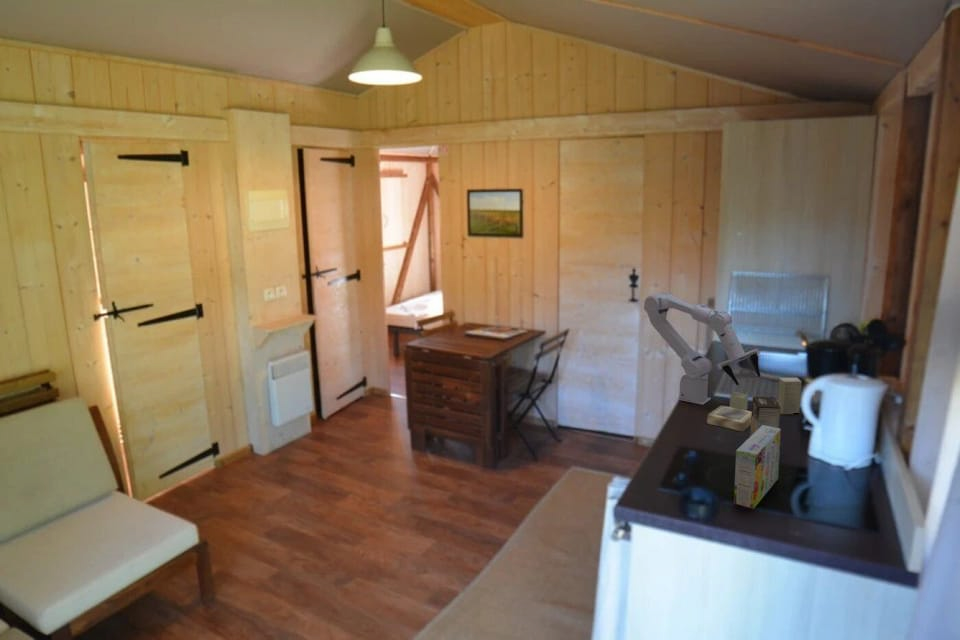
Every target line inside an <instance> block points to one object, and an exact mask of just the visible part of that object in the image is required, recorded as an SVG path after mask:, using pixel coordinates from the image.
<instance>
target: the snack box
mask: <svg viewBox="0 0 960 640" xmlns="http://www.w3.org/2000/svg"><path fill="white" fill-rule="evenodd" d="M781 433H782V429H781V428H780V427H779V428H775V427H770V426H765V425H762V426H761V427H760V428H759V429H758V430H757V431H756V432H755V433H754V434H753V435H752V436H751V437H750V436H749V438H747V439H746V440H745V441H744V442H743V443H742V444H741V445H740V446H739V447H738V448H737V449H736V450H735V471H734V472H735V473H734V491H733V492H734V493H733V494H734V495H733V504H734V505H737V506H739V507H743V508H748V509H751V510H754V509H755V508H756V506H757V505H758V504H759V503H760V502H761V501H762V499H763V498H764V497H765V495H766V494H767V493H768V492H769V490H771V488H772V487H773V486H774V485H775V484H776V482H777V481H778V480H779V467H780V450H781Z"/></svg>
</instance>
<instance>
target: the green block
mask: <svg viewBox="0 0 960 640" xmlns="http://www.w3.org/2000/svg"><path fill="white" fill-rule="evenodd" d="M729 397H730V398H729V407H732V408H737V409H742V410H746V411H748V404H749V403H748V402H749V400H748V399H749V394H746V393H742V392H737V391H734V392H733V393H731V395H730V396H729Z"/></svg>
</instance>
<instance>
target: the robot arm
mask: <svg viewBox="0 0 960 640" xmlns="http://www.w3.org/2000/svg"><path fill="white" fill-rule="evenodd" d="M643 305H644V306H643V310H644V311H645V313H647V316H648V319H649V322H650V324H651V326H652V327H653V328H654V329H655V330H656V332H657V333H658V334H659V335H660V336H661V338H662V339H664V341H665V342H666V343H667V344H668V345H669V347H670V348H671V349H672V351H674V353H675V354H676V355H677V356H678V358H680V360H681V363H680V366H681V367H682V369H683V370H684V373H685V374H683V375H682V376H681V378H680V381H679V394H678V396H679V397H678V401H684V402H688V403H693V404H696V405H697V404H698V405H701V406H702V405H705V404H706V403H708V402H709V401H711V399H712V398H711V397H708V388H709V387H708V386H709V385H708V384H709V373H710V372H711V371H712V369H713V364H712V362H711V360H710V358H709V359H708V357H705V356H704V355H702V353H700V352H698V351H695V350H694V349H693V348H692V347H691V346H690V344H689V343H687V341H686V340H685V339H684V337H683V336H682V335H681V334H680V333H679V332H678V331H677V330H676V329H675V327H673V325H672V324H671V323H670V322H669V321H668V319H667V315H668V311H669V310H670V309H674V310H677V311H679V312H682V313H686V314H688V315H691V317H692V320H695V321H697V322H699V323H703V324H705V325H707V326H709V328H710V329H711V330H712V331H714V332H715V334H716V335H717V337H718V339H719V342H720V343H721V344H720V345H722V348H723V350H724V352H725V354H726V356H727V358H728V359H727V360H725V361H724V360H723V361H722V362H719V363H717V364H716V365H717V368H718V370H721V369H722V371H723V372H724V373H725V374H727V375H728V376H729V377H730V378H731V380H732V381H733V382H734V384H735V385H736V386H740V383H739V382H738V380H737V378H736V376H735V374H734V372H733V370H732V368H731V366H732V365H734V364H737V363H739V362H741V361H743V360H746V359H749V361H750V363H751V364H752V367H753V369H754V371H755V373H756V375H757V377H758V378H760V377H761V376H762V375H761V373H760V368H759V367H760V366H759V354H761V353H760V350H759V348H755V349H751V350H749V351H747V352H745V350H744V349H743V348H744V347H743V346H742V344H741V342H740V340H739V337H738V336H737V334H736V332H735V330H734V328H733V325H732V321H733V320H732V316H731V315H730V313H728V312H726V311H720V312H719V310H718V309H712V308H710V307H708V306H707V305H706V304H703V303H702V304H697V305H693V304H691V303H688V302H687V301H685V300H683V299H680V298H678V297H676V296H674V295H673V294H670V293H667V292H660V293H657V294H656V293H655V294H652V295H648V296H647V297H646V298H645V299H644V304H643Z"/></svg>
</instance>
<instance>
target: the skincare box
mask: <svg viewBox="0 0 960 640" xmlns="http://www.w3.org/2000/svg"><path fill="white" fill-rule="evenodd" d="M778 379H779V380H778V390H777V391H778V392H777V393H778V394H777V395H778V396H777V402H778V404H779V406H780V407H781V408H780V415H794V414H793V413H799V414H800V409H801V408H800V404H801V393H802V392H801V391H802V380H800V379H799V378H798V377H793V376H792V377H779V378H778Z"/></svg>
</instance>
